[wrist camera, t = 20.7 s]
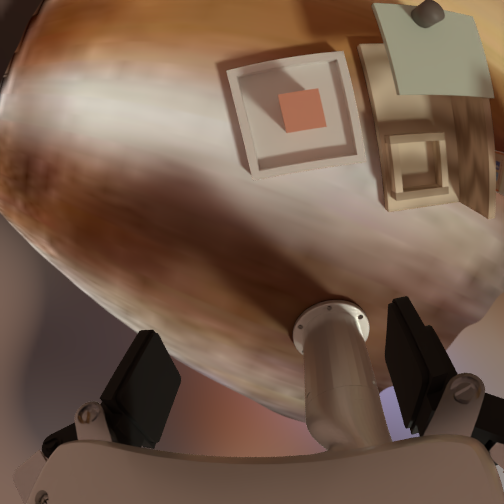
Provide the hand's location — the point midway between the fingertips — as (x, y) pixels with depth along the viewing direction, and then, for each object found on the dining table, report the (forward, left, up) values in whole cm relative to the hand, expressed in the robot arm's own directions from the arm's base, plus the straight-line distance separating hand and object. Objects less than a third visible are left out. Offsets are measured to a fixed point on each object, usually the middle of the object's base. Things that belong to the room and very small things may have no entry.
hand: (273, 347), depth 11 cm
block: (+9, -4, -28) cm, 29 cm away
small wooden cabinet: (+6, -20, -28) cm, 35 cm away
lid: (+14, -20, -19) cm, 31 cm away
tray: (+9, -4, -28) cm, 30 cm away
